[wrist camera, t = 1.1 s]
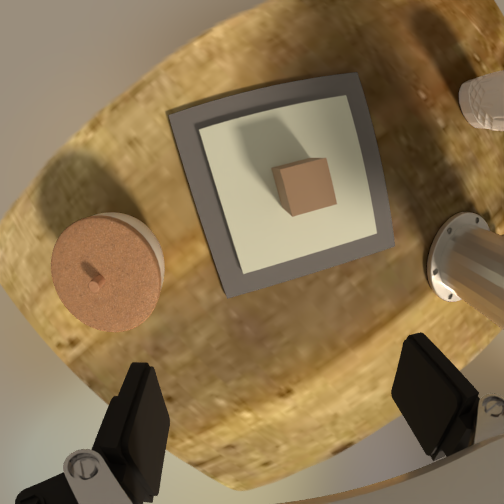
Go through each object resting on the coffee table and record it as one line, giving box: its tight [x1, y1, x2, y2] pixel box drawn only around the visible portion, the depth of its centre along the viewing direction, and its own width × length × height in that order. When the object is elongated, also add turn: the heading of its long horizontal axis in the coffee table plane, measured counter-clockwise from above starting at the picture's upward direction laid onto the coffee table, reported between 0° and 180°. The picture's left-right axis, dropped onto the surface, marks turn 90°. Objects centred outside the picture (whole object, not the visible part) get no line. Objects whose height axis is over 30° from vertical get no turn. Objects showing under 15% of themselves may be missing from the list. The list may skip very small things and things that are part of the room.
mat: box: [168, 72, 395, 298], centre depth 30 cm, size 20×20×1 cm
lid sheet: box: [199, 95, 377, 274], centre depth 27 cm, size 15×15×6 cm
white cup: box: [459, 70, 504, 131], centre depth 24 cm, size 8×8×10 cm
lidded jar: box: [51, 212, 165, 332], centre depth 27 cm, size 11×11×9 cm
